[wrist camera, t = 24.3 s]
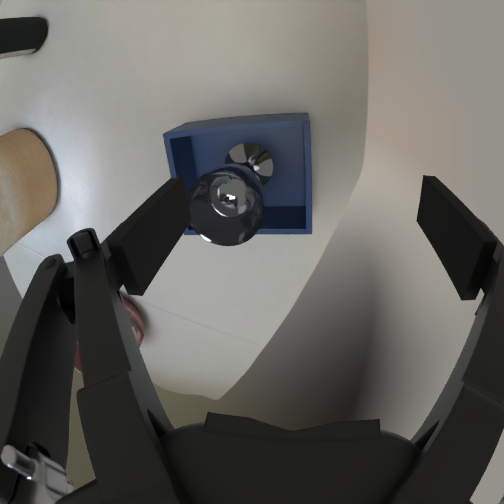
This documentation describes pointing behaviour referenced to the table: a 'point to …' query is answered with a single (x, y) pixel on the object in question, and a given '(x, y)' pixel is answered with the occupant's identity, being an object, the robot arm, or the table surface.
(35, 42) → the wine bottle
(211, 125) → the bin
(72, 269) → the robot arm
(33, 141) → the planter
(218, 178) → the wine glass
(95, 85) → the table surface
